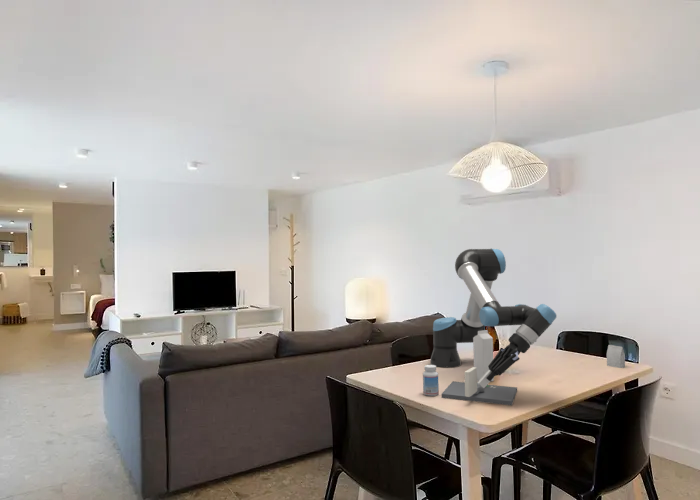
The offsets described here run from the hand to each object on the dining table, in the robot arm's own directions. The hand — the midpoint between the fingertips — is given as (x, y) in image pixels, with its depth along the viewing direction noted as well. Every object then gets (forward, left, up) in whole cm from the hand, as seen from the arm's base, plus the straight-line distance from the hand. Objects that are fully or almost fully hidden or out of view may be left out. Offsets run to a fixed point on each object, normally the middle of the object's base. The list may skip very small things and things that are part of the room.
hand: (480, 385), depth 173 cm
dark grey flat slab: (-2, +11, -7) cm, 13 cm away
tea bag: (+51, +83, -7) cm, 98 cm away
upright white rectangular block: (-2, +8, -5) cm, 10 cm away
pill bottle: (-20, +4, -7) cm, 22 cm away
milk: (-4, +33, -7) cm, 34 cm away
